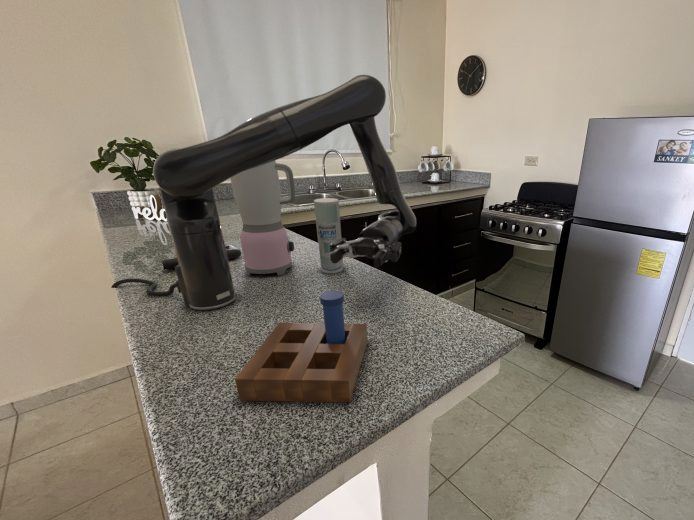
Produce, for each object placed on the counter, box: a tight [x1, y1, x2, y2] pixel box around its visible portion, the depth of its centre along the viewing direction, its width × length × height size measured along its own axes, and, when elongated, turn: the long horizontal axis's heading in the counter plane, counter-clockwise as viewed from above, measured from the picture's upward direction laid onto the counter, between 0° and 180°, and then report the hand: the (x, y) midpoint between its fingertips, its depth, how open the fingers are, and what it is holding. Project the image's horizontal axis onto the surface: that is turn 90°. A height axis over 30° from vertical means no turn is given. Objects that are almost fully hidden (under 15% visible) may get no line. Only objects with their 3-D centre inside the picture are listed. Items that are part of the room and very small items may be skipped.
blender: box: [229, 160, 296, 276], centre depth 94 cm, size 16×12×32 cm
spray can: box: [313, 197, 344, 274], centre depth 97 cm, size 6×6×20 cm
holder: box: [234, 322, 368, 403], centre depth 58 cm, size 16×16×4 cm
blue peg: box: [319, 289, 346, 344], centre depth 60 cm, size 4×4×12 cm
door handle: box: [161, 244, 242, 271], centre depth 107 cm, size 3×20×16 cm
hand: (354, 260), depth 66 cm, fingers open, 8 cm apart
